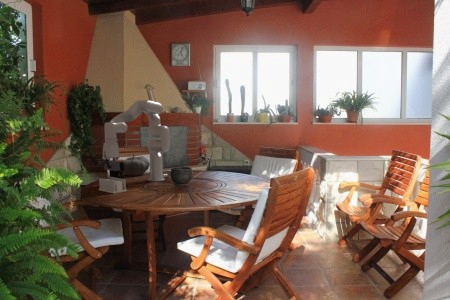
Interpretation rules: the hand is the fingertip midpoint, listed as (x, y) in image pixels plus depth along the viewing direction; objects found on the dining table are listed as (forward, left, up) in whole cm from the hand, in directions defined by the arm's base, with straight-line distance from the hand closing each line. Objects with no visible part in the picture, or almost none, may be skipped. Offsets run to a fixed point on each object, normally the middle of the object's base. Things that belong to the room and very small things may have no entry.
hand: (111, 167), depth 276 cm
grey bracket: (+2, 0, -1) cm, 3 cm away
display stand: (0, 0, -16) cm, 16 cm away
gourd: (-51, -45, -16) cm, 70 cm away
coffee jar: (-15, -17, -16) cm, 28 cm away
